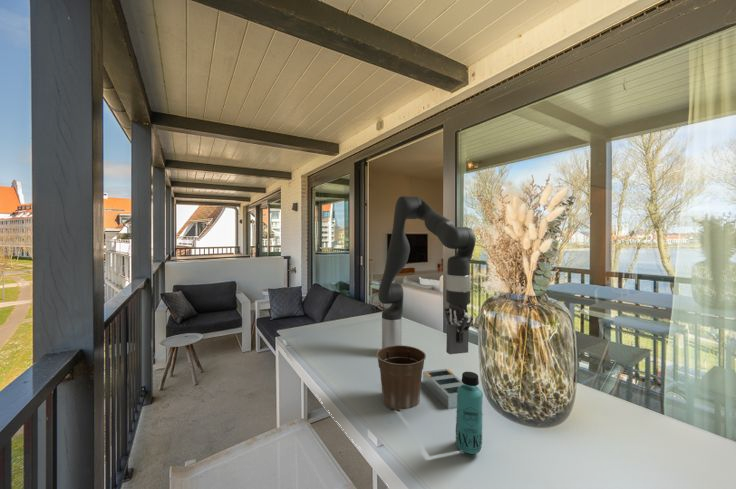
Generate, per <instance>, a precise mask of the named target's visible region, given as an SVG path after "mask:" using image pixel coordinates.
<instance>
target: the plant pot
mask: <svg viewBox="0 0 736 489" xmlns="http://www.w3.org/2000/svg"><path fill="white" fill-rule="evenodd" d="M375 354H376V355H375V356H376V359H377V363H378V364H377V365H378V368H379V373H380V382H381V394H382V401H383V402H382V403H383V405H385V407H387V408H388V409H390V410H393V409H394V410H396V411H397V412H400V411H401V410H408V409H409V410H410V409H413V408H415V407H417V406H418V405H419V404H420V400H421V398H420V397H421V387H422V378H423V370H424V365H425V364H424V363H425V360H426V358H427V357H426V353H425V352H424V351H423V350H421V349H419V348H418V347H414V346H411V345H402V344H401V345H395V346H388V347H384V348H382V347H381V348H379V349H378V350H377V351H376V353H375Z"/></svg>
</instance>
